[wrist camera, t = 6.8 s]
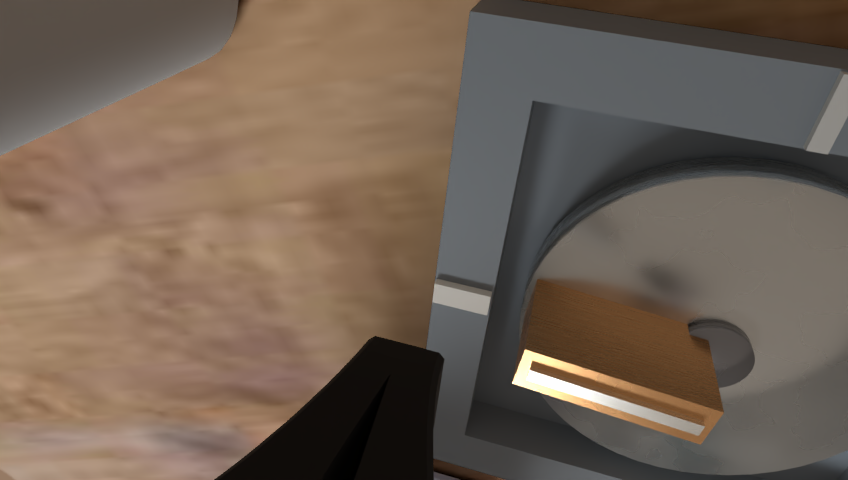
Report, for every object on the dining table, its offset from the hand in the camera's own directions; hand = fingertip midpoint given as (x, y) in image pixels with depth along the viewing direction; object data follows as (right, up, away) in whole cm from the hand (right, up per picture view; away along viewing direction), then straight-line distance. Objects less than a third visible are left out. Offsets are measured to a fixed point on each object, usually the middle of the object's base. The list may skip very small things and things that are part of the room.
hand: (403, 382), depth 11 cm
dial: (+10, 0, +9) cm, 14 cm away
